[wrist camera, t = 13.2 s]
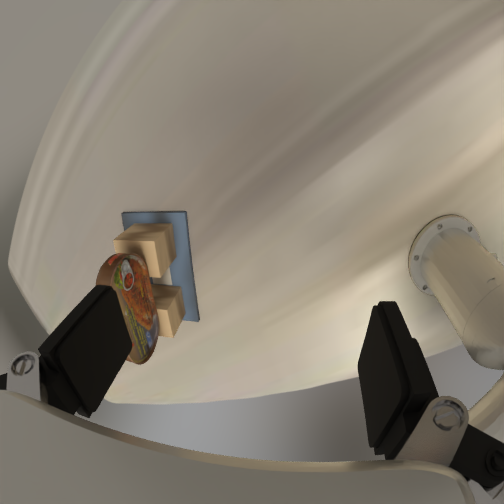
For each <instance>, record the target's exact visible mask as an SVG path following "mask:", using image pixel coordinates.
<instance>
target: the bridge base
mask: <svg viewBox="0 0 504 504" xmlns="http://www.w3.org/2000/svg"><path fill="white" fill-rule="evenodd" d="M121 214H122V220H123V226H124V232H123V233H121V234H120V235H119V236H118V237H116V238H115V239H114V240H113V241H114V246H115V251H116V254H117V253H125V254H131V253H134V254H138V255H139V256H141V257H142V259H143V260H144V262H145V263H146V266H147V269H148V273H149V278H150V283H151V288H152V292H153V297H154V301H155V305H156V309H157V313H158V318H159V334H158V336H164V337H171V338H174V336H175V334H176V331H177V329H178V327H179V326H180V324H181V322H182V320H186V321H195V322H199V320H200V318H199V311H198V304H197V297H196V290H195V283H194V275H193V267H192V259H191V250H190V241H189V232H188V223H187V212H186V211H179V212H123V213H121Z"/></svg>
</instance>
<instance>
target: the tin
mask: <svg viewBox="0 0 504 504" xmlns="http://www.w3.org/2000/svg"><path fill="white" fill-rule="evenodd" d="M96 285H108V286H112V288H113V290H115V291H116V293H117V296H118V299H119V303H120V306H121V309H122V313H123V316H124V319H125V322H126V325H127V329H128V332H129V335H130V338H131V341H132V350H131V352H130V354H129V355H128V357H127V359H126V360H127V361H130V362H133V363H135V364H139V365H141V364H144V363H145V362H147V361H148V360H149V358H150V357H151V356H152V354H153V352H154V349H155V347H156V343H157V339H158V334H159V318H158V313H157V309H156V305H155V301H154V297H153V292H152V288H151V283H150V278H149V273H148V269H147V266H146V263H145V262H144V260H143V259H142V257H141V256H139V255H138V254H134V253H131V254H125V253H117V254H114V255H112V256H111V257H109V258H108V259H107V260H106V261H105V263H104V264H103V265H102V266H101V268H100V270H99V273H98V276H97V280H96Z"/></svg>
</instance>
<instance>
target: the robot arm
mask: <svg viewBox="0 0 504 504" xmlns="http://www.w3.org/2000/svg"><path fill="white" fill-rule="evenodd" d="M408 265H409V272H410V276H411V278H412V280H413V282H414V284H415V285H416V286H417V288H418V289H419V290H421V291H422V292H424V293H426V294H428V295H433V296H435V297H436V298H437V300H438V301H439V303H440V305H441V306H442V308H443V309H444V311H445V313H446V314H447V316H448V318H449V319H450V321H451V323H452V324H453V326H454V328H455V330H456V331H457V333H458V335H459V337H460V338H461V340H462V342H463V344H464V346H465V348H466V350H467V351H468V353H469V355H470V356H471V358H472V359H473V360H474V361H475V362H476V363H478V364H479V365H481V366H483V367H486V368H490V369H497V370H504V266H503V265H502V264H501V263H500V262H499V261H498V260H497V255H496V254H494V253H489V252H488V251H487V250H486V249H485V248H484V247H482V246H481V242H480V237H479V234H478V232H477V230H476V228H475V227H474V226H473V225H472V224H471V223H470V222H469V221H468V220H466V219H465V218H463V217H460V216H456V215H448V216H443V217H440V218H437V219H436V220H434V221H432V222H431V223H429V224H428V225H427V226H426V227H425V228H424V229H423V230H422V231H421V232H420V233H419V235H418V236H417V238H416V239H415V241H414V243H413V246H412V248H411V251H410V255H409V264H408ZM38 350H39V352H40V354H41V356H40V357H38V356H37V355H36V354H35V353H33V352H23V353H20V354H18V355H17V356H16V357H14V358H13V359H12V361H11V362H10V364H9V367H8V373H6V374H3V375H0V504H504V373H503V375H502V376H501V378H500V379H499V380H498V381H497V382H496V383H495V385H494V386H493V387H492V388H491V389H490V390H489V391H488V392H487V393H486V394H485V395H484V396H483V397H482V398H481V399H480V400H479V401H478V402H477V403H476V404H475V405H474V406H473V407H472V408H470V409H469V410H467V408H466V406H465V405H464V404H463V403H462V402H461V401H459V400H458V399H456V398H453V397H451V396H441V397H439V395H438V392H437V390H436V387H435V384H434V381H433V379H432V376H431V373H430V371H429V368H428V366H427V363H426V361H425V358H424V356H423V353H422V351H421V348H420V346H419V343H418V342H417V340H416V339H415V338H412V337H411V335H410V332H409V330H408V328H407V325H406V323H405V321H404V318H403V316H402V314H401V312H400V309H399V307H398V305H397V303H396V302H395V301H380V302H379V303H378V306H373V309H372V313H371V317H370V321H369V325H368V328H367V332H366V336H365V340H364V343H363V347H362V350H361V354H360V357H359V361H358V374H359V379H360V386H361V391H362V398H363V404H364V411H365V418H366V425H367V433H368V441H369V446H370V447H374V452H375V455H382V454H385V460H377V461H376V460H375V461H351V462H288V461H270V460H258V459H247V458H238V457H230V456H224V455H217V454H210V453H204V452H199V451H194V450H188V449H183V448H179V447H174V446H169V445H165V444H161V443H157V442H153V441H149V440H146V439H142V438H138V437H135V436H132V435H128V434H125V433H122V432H119V431H116V430H112V429H109V428H106V427H103V426H101V425H98V424H95V423H92V422H90V421H87V420H84V419H82V418H79V417H77V416H74V414H75V412H76V411H77V413H78V414H80V415H82V416H85V417H87V418H90V416H91V414H92V412H95V411H96V410H97V408H98V407H99V405H100V403H101V401H102V400H103V398H104V396H105V394H106V393H107V391H108V389H109V387H110V386H111V384H112V382H113V381H114V379H115V377H116V375H117V374H118V372H119V370H120V369H121V367H122V365H123V364H124V362H125V360H126V359H127V357H128V355H129V354H130V352H131V350H132V341H131V338H130V335H129V332H128V329H127V325H126V322H125V319H124V316H123V313H122V309H121V306H120V303H119V299H118V296H117V293H116V291H115V290H113V288H112V286H108V285H96V286H95V287H94V288H93V289H92V290H91V291H90V292H89V293H88V294H87V295H86V296H85V297H84V299H83V300H82V301H81V302H80V303H79V304H78V305H77V306H76V307H75V308H74V309H73V310H72V311H71V312H70V313H69V315H68V316H67V317H66V318H65V319H64V320H63V321H62V322H61V323H60V324H59V326H58V327H57V328H56V329H55V330H54V331H53V332H52V333H51V335H50V336H49V337H48V338H47V339H46V340H45V342H44V343H43V344H42V345H41V346H40V348H38Z"/></svg>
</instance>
